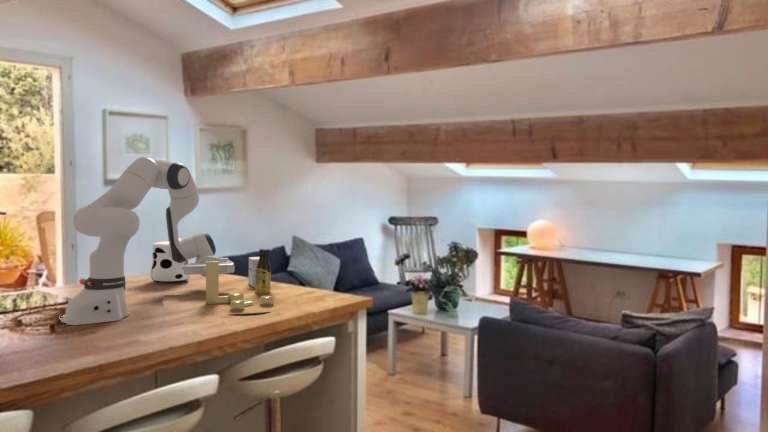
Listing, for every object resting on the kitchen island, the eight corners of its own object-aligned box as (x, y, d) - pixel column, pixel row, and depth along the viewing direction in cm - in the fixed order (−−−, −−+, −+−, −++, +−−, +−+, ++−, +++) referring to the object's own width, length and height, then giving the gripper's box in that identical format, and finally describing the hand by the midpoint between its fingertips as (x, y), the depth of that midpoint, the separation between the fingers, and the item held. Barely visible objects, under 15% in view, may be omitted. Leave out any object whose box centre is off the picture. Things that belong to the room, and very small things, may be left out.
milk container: (198, 281, 295) (198, 243, 294) (167, 287, 280) (167, 246, 279) (173, 277, 304) (173, 240, 303) (142, 282, 290) (142, 243, 288)
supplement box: (248, 284, 290) (248, 257, 289) (264, 283, 293) (264, 256, 292) (251, 287, 284) (252, 259, 283) (268, 286, 287) (268, 258, 286)
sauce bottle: (251, 296, 264) (252, 248, 263) (261, 293, 270) (261, 247, 268) (264, 298, 261) (264, 250, 260) (273, 295, 267) (274, 248, 265)
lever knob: (206, 305, 239) (206, 263, 238) (205, 302, 244) (205, 260, 243) (244, 303, 244) (244, 261, 242) (242, 300, 249) (242, 259, 248)
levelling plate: (237, 318, 225) (237, 306, 224) (205, 308, 240) (205, 296, 240) (287, 309, 241) (287, 298, 240) (254, 300, 256) (254, 289, 255)
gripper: (181, 259, 264) (183, 264, 251) (231, 257, 271) (236, 262, 258) (182, 274, 265) (184, 280, 252) (232, 272, 272) (236, 278, 259)
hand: (210, 271), depth 255 cm, fingers closed
